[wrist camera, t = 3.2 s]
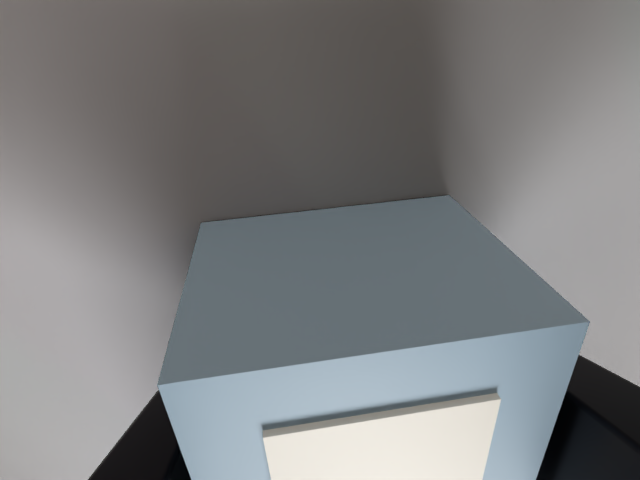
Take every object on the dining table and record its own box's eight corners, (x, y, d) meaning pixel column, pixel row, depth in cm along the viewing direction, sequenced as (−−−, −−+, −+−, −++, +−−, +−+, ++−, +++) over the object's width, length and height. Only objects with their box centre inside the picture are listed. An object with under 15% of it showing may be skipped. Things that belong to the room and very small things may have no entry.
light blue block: (240, 399, 10) (232, 602, 7) (201, 222, 8) (155, 392, 4) (431, 370, 11) (518, 545, 7) (449, 195, 8) (595, 326, 5)
